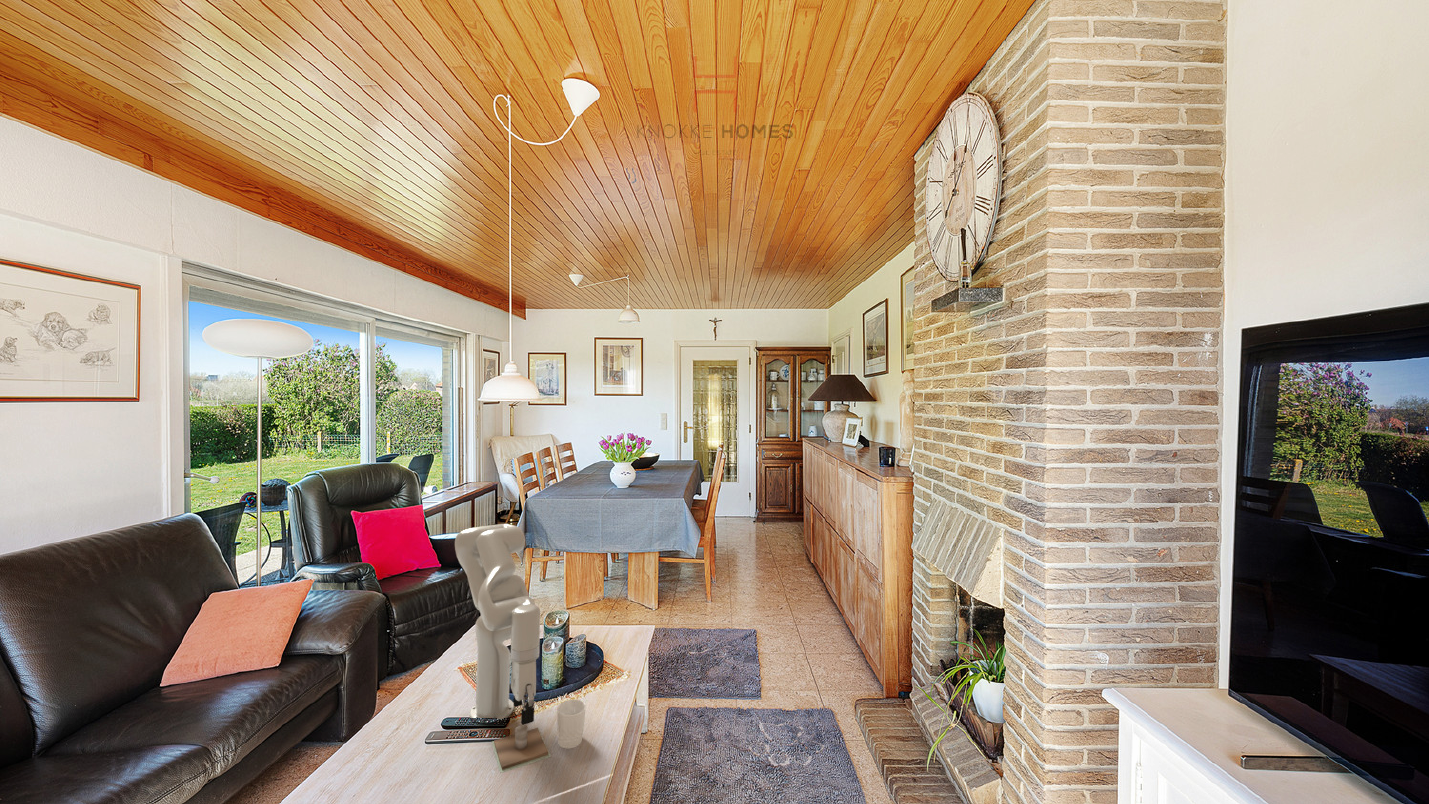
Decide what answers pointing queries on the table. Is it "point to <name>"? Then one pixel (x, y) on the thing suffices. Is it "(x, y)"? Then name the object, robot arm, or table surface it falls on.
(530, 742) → the walnut lid
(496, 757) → the sage mat
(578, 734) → the white cup
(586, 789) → the table surface
